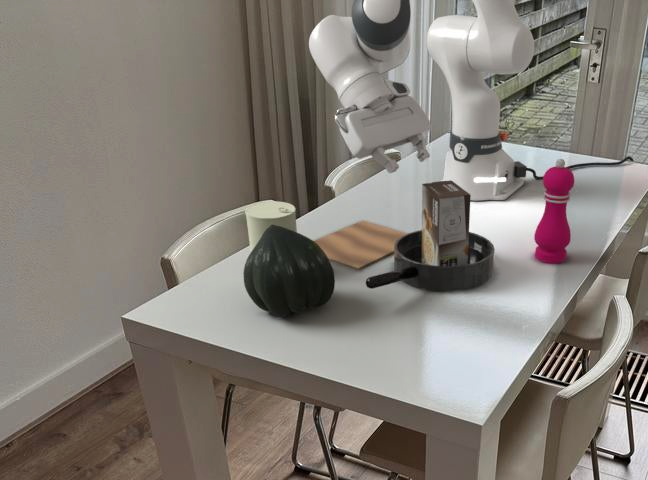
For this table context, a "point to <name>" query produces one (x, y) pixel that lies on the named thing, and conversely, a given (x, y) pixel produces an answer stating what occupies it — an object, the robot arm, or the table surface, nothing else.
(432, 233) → the coffee box
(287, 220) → the can
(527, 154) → the table surface
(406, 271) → the pan handle
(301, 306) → the squash
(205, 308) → the table surface
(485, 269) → the pan
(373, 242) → the wooden board
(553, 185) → the pepper mill
